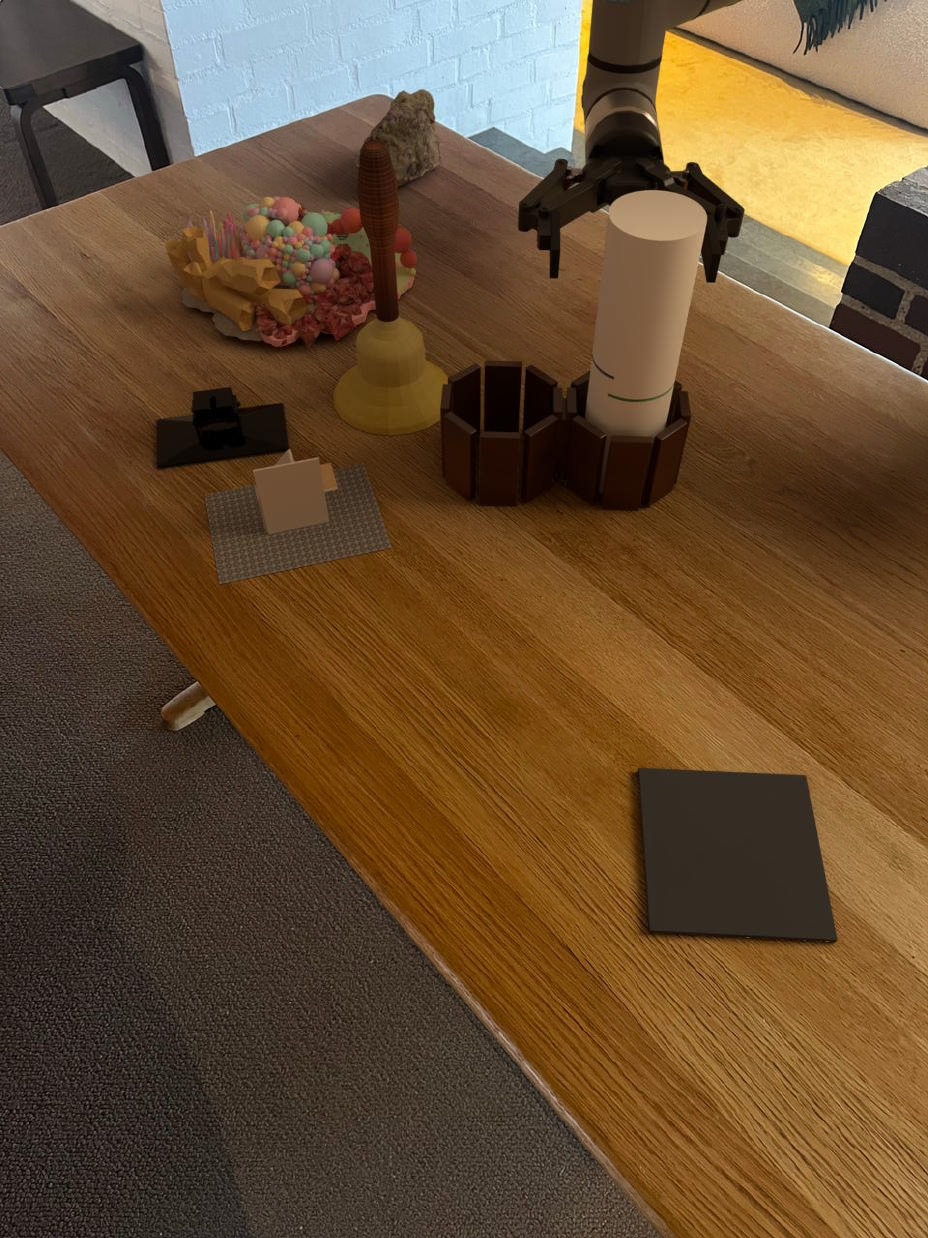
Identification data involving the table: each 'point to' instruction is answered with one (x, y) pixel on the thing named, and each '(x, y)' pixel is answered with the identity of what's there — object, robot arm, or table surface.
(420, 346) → the handbell
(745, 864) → the mat
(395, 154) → the mineral rock
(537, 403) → the holder
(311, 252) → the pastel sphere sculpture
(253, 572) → the architectural model
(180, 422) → the build plate
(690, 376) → the table surface
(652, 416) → the cylindrical container
